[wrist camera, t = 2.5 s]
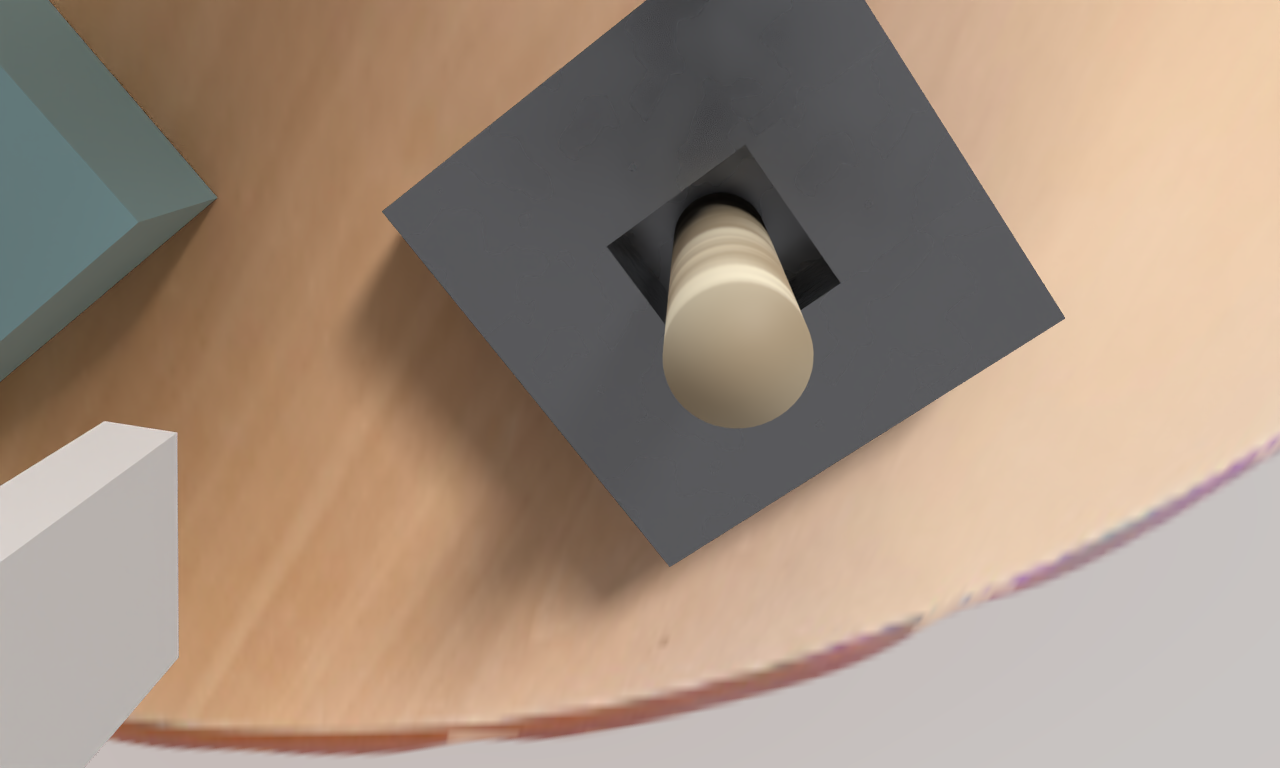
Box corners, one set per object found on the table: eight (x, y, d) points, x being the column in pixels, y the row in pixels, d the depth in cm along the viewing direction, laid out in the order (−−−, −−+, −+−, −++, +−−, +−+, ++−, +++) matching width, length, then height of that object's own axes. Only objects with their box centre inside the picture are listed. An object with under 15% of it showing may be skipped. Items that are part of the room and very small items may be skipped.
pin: (655, 229, 32) (632, 341, 20) (731, 173, 31) (757, 254, 19) (709, 302, 33) (719, 455, 20) (784, 249, 32) (842, 374, 20)
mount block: (426, 188, 33) (381, 211, 28) (775, -89, 30) (791, -116, 25) (672, 499, 36) (669, 567, 31) (1011, 279, 33) (1065, 318, 28)
